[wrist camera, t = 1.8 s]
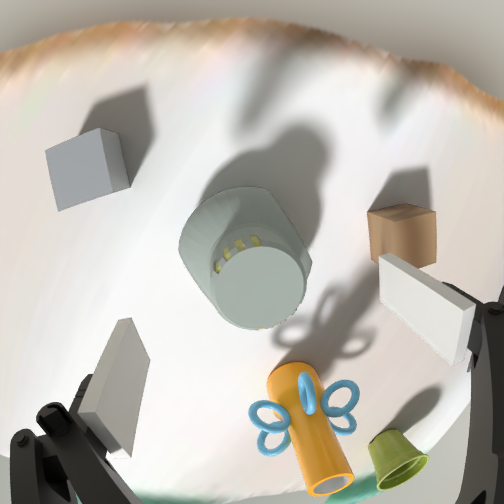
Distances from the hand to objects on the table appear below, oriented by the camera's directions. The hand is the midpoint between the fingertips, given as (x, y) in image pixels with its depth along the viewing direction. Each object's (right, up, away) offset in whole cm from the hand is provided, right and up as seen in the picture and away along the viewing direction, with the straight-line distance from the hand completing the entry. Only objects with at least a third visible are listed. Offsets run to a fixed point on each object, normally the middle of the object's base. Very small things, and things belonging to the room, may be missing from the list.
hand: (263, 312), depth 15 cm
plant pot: (+22, -29, +25) cm, 44 cm away
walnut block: (+14, +5, +14) cm, 20 cm away
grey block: (-14, +10, +9) cm, 20 cm away
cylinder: (+4, -12, +18) cm, 22 cm away
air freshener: (-1, +4, +13) cm, 13 cm away
